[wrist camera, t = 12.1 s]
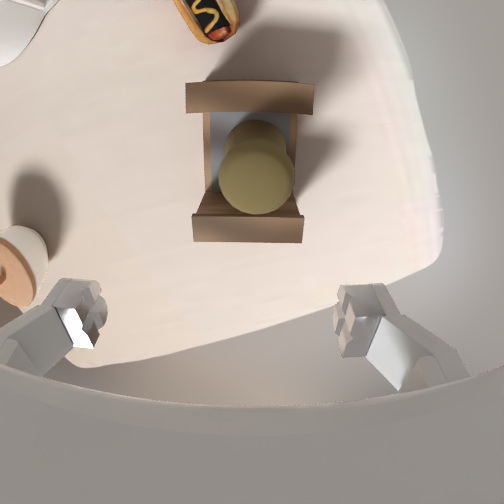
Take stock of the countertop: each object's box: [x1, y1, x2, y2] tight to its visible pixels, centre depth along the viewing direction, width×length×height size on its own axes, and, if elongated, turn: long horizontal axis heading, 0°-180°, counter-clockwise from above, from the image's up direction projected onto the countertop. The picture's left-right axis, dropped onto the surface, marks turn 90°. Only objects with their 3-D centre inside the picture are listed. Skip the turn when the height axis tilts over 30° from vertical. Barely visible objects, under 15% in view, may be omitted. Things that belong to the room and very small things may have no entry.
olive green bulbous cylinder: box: [218, 120, 295, 214], centre depth 23 cm, size 6×6×11 cm
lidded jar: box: [0, 225, 49, 307], centre depth 31 cm, size 11×11×9 cm
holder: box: [186, 80, 314, 243], centre depth 26 cm, size 14×9×8 cm
